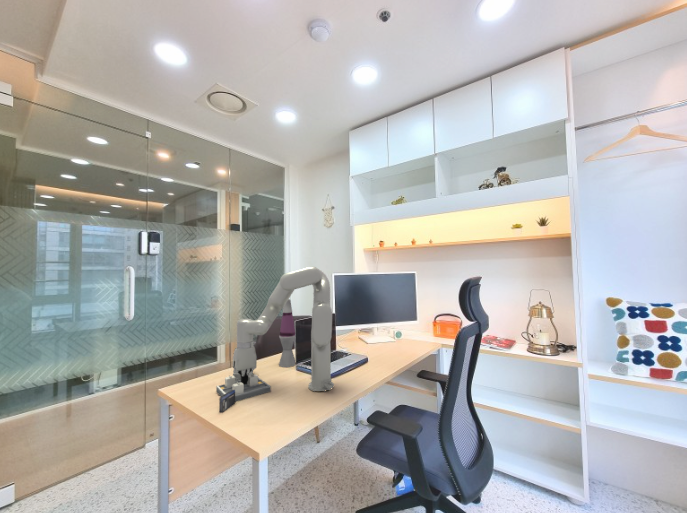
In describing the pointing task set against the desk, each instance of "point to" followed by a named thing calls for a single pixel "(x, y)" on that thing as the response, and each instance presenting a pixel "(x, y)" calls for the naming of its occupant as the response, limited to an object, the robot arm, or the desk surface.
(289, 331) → the lamp
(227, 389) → the switch bank
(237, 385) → the tab
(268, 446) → the desk surface
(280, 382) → the desk surface
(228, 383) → the tab
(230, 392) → the mini dv tape
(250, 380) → the tab
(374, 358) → the desk surface
